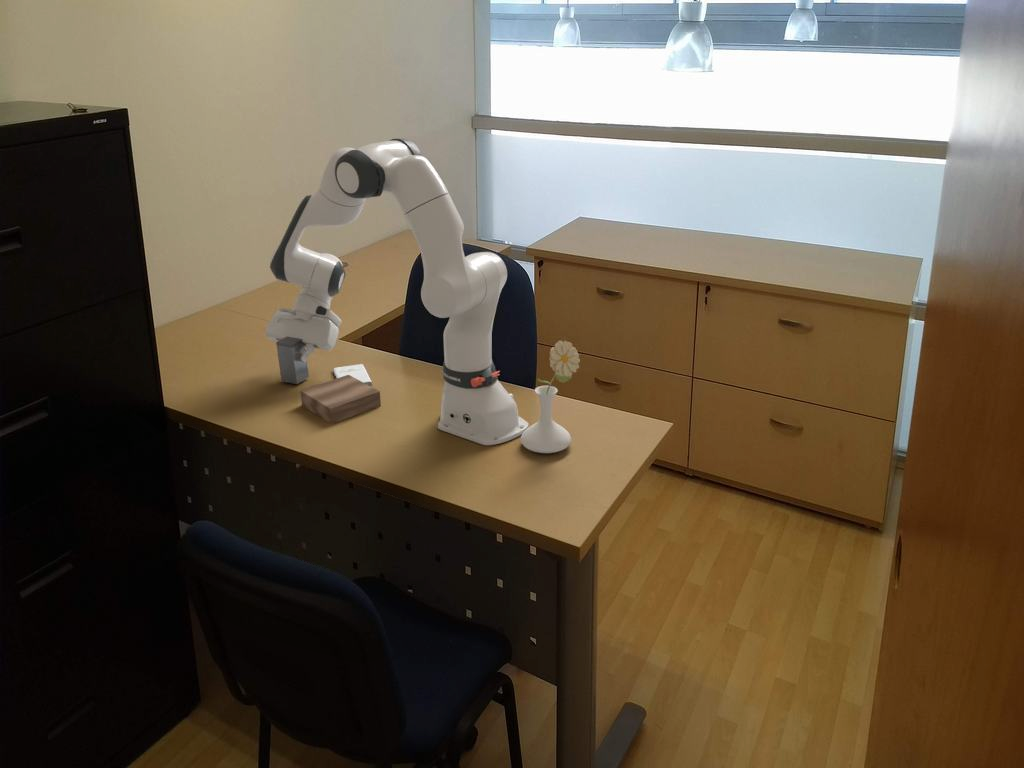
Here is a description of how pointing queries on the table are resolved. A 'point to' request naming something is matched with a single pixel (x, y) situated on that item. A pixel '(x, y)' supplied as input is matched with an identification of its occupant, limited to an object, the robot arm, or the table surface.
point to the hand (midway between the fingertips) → (291, 359)
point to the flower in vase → (546, 431)
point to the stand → (340, 398)
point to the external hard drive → (353, 373)
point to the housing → (291, 360)
